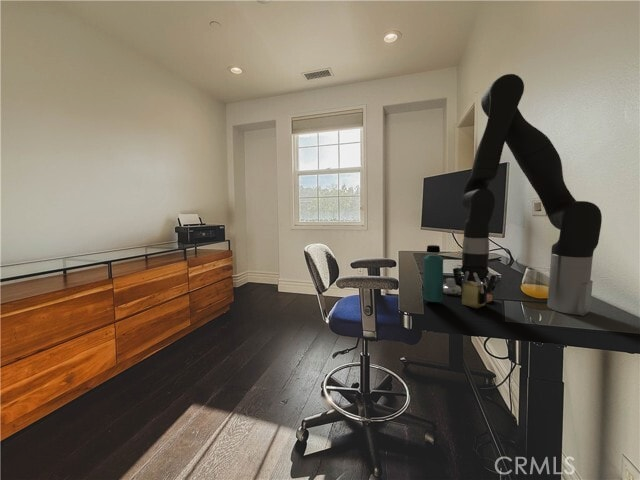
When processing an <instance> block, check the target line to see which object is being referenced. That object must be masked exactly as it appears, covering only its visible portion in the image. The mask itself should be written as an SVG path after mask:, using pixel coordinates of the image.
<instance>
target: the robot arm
mask: <svg viewBox="0 0 640 480" xmlns="http://www.w3.org/2000/svg"><path fill="white" fill-rule="evenodd" d="M524 91H525V83H524V81H523V79H522V78H521V76H519V75H517V74H514V73H507V74H504V75H501V76H499V77H498V78H497V79H496V80H494V81H493V82H492V83H491V84H490V86H489V87H488V88H487V89H486V90H485V92H484V93H483V94H482V97H481V100H480V105H481V109H482V111H483V113H484V114H485V116H487V120H486V121H487V122H486V126H485V129H484V131H483V134H482V137H481V139H480V142H479V144H478V146H477V148H476V151H475V152H476V153H475V154H474V155H475V156H474V158H473V163H472V167H471V173H470V177H469V179H467V182H466V184H465V187H464V190H463V192H462V197H461V204H462V206H463V208H464V209H465V210H468V211H469V217H468V219H467V220H465V221H464V225H463V240H462V247H461V250H462V254H461V264H462V265H461V267H459V266H458V267H454V268H452V273H453V279H455V284H456V285H457V286H460V287H461V296H460V297H461V298H462V284H464V283H465V284H466V283H469V282H471V281H472V282H476V283H477V286H479V287H480V292H481V293H480V302H479V303H480V304H484V303H485V302H486V301H487V294H490V293H493V292H494V291H495V289H496V287H497V283H498V279H499V277H500V276H499V274H498V273H497V274H494V273H491V272H490V271H489V259H490V240H489V238H490V223H491V220H492V217H493V214H494V210H495V206H496V198H495V194H494V192H493V191H492V190H490V189H489V185H490V183H492V182H493V181H494V180H495V179H496V177H497V174H498V170H499V166H500V164H501V159H502V153H503V150H504V146H505V144H506V146H507V147H508V149H509V150H510V152H511V154H512V156H513V157H514V159H515V161H516V163H517V165H518V166H519V168H520V170H521V171H522V173H523V175H524V176H525V177H526V178H527V181H528V182H529V183H530V185H531V187H532V188H533V190H534V191H535V193H536V194H537V196H538V198H539V199H540V202H541V204H542V206H543V209H544V210H545V214H546V216H547V218H548V220H549V222H550V224H551V225H552V226H553V227H554V228H555V229H557V230H560V231H559V236H558V240H557V241H556V242H555V243H553V244H552V246H551V251H550V253H551V254H550V264H549V266H550V267H549V277H548V279H549V280H548V290H547V292H548V293H547V307H548V308H549V309H550V310H553V311H556V312H557V313H558V312H559V313H563V314H567V315H577V316H582V317H584V316H585V315H587V314H588V313H589V312H591V305H592V304H591V302H592V295H593V294H592V291H593V284H594V282H593V280H591V279H592V267H593V258H594V251H595V250H596V248H597V247H598V245H599V240H600V234H601V229H602V221H603V220H602V218H603V216H602V212H601V209H600V208H599V206H597V204H595V203H594V202H591V201H586V200H582V201H581V200H576V199H575V197H574V196H573V194H572V193H571V192H570V191H569V189H568V187H567V185H566V182H565V181H564V173H563V164H562V159H561V156H560V154H559V152H558V151H557V148H555V146H554V144H553V142H552V141H551V140H550V138H549V137H548V136H547V135H546V134H545V133H544V132H542V131H541V130H540V129H539V128H537V127H535V126H533V125H532V124H531V123H530V122H528V121H527V120H526V118H524V116H523V114H522V112H521V111H520V109H519V107H518V106H519V104H520V101H521V99H522V97H523V95H524ZM462 275H463V277H462ZM487 277H488V284H487V280H486V278H487ZM485 304H486V303H485Z"/></svg>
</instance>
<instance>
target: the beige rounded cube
mask: <svg viewBox="0 0 640 480" xmlns="http://www.w3.org/2000/svg"><path fill="white" fill-rule="evenodd" d="M480 293H481V292H480V287H479V286H477V283H476V282H473V281H471V282H469V283H466V284H465V283H464V284H462V297H461V305H464V306H468V307H469V308H470V307H471V308H474V309H479V308H481V307H485V306H486V303H484V304H480V303H479V302H480Z"/></svg>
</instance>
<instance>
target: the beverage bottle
mask: <svg viewBox="0 0 640 480" xmlns="http://www.w3.org/2000/svg"><path fill="white" fill-rule="evenodd" d="M426 252H427V253H431V254H426V255H425V256H424V257H423V258H422V261H423V272H422V273H423V275H422V280H423V281H422V297H423V300H425V301H428V302H432V303H438V302H439V303H440V302H442V301H443V299H444V294H443V285H444V284H445V283H444V258H443V257H442V256H441V255H440V254H438V253H441V249H440V245H437V244H436V245H435V244H434V245H433V244H429V245H426ZM432 253H433V254H432Z"/></svg>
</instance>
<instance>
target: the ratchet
mask: <svg viewBox="0 0 640 480" xmlns="http://www.w3.org/2000/svg"><path fill="white" fill-rule="evenodd" d="M443 284H444V285H443V293H446V294H445V295H447V294H455V295H454V296H459V295H461V287H460V286H457V285H456V284H455V279H454V277H453V278H452V277H448V278H446V279H445V283H443ZM456 294H458V295H456ZM492 301H493V295H492V294H490V293H487V301H486V302H485V304H487V303H488V304H489V303H490V302H492Z"/></svg>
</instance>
